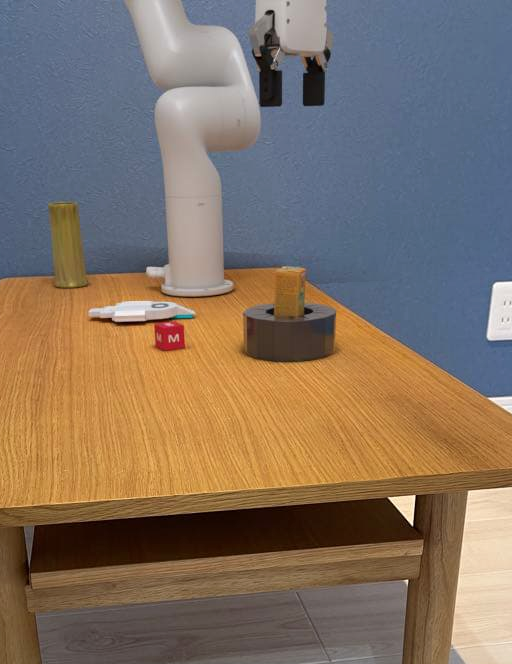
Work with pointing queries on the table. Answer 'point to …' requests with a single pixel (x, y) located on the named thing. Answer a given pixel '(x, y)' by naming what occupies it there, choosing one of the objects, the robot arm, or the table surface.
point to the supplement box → (289, 291)
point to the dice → (169, 335)
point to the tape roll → (289, 333)
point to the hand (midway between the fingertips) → (292, 106)
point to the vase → (67, 245)
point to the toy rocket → (142, 311)
